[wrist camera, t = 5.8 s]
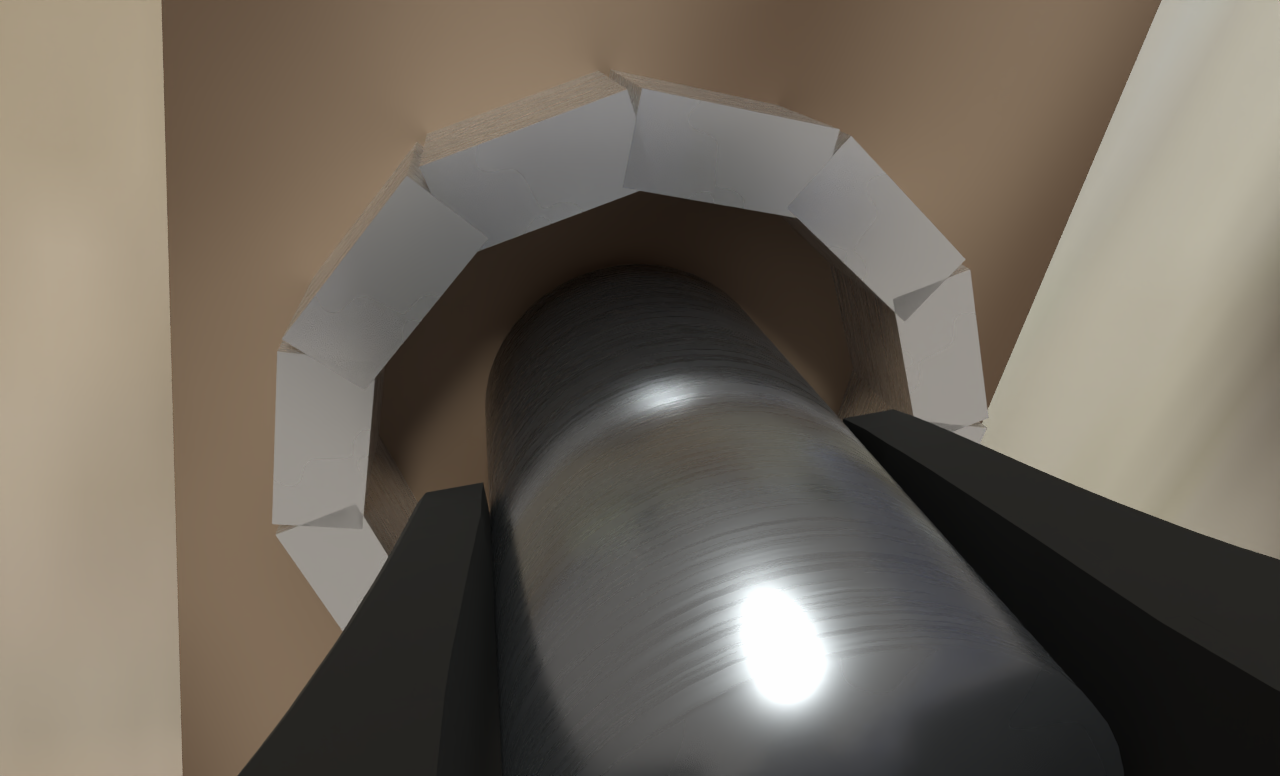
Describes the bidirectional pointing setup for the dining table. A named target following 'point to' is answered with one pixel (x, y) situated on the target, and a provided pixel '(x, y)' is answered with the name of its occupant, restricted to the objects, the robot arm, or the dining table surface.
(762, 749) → the cylinder
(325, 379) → the collar board
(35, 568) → the dining table surface
